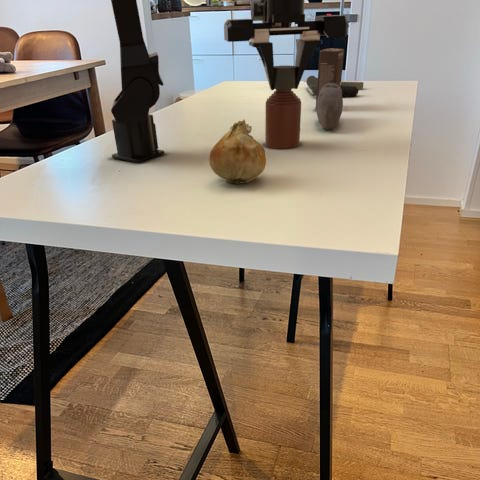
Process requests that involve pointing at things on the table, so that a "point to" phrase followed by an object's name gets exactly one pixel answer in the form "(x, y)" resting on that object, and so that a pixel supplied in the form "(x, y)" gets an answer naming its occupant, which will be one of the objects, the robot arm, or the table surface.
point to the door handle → (346, 87)
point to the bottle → (282, 120)
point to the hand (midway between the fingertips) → (283, 89)
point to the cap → (284, 77)
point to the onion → (238, 155)
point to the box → (329, 68)
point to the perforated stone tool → (329, 105)
